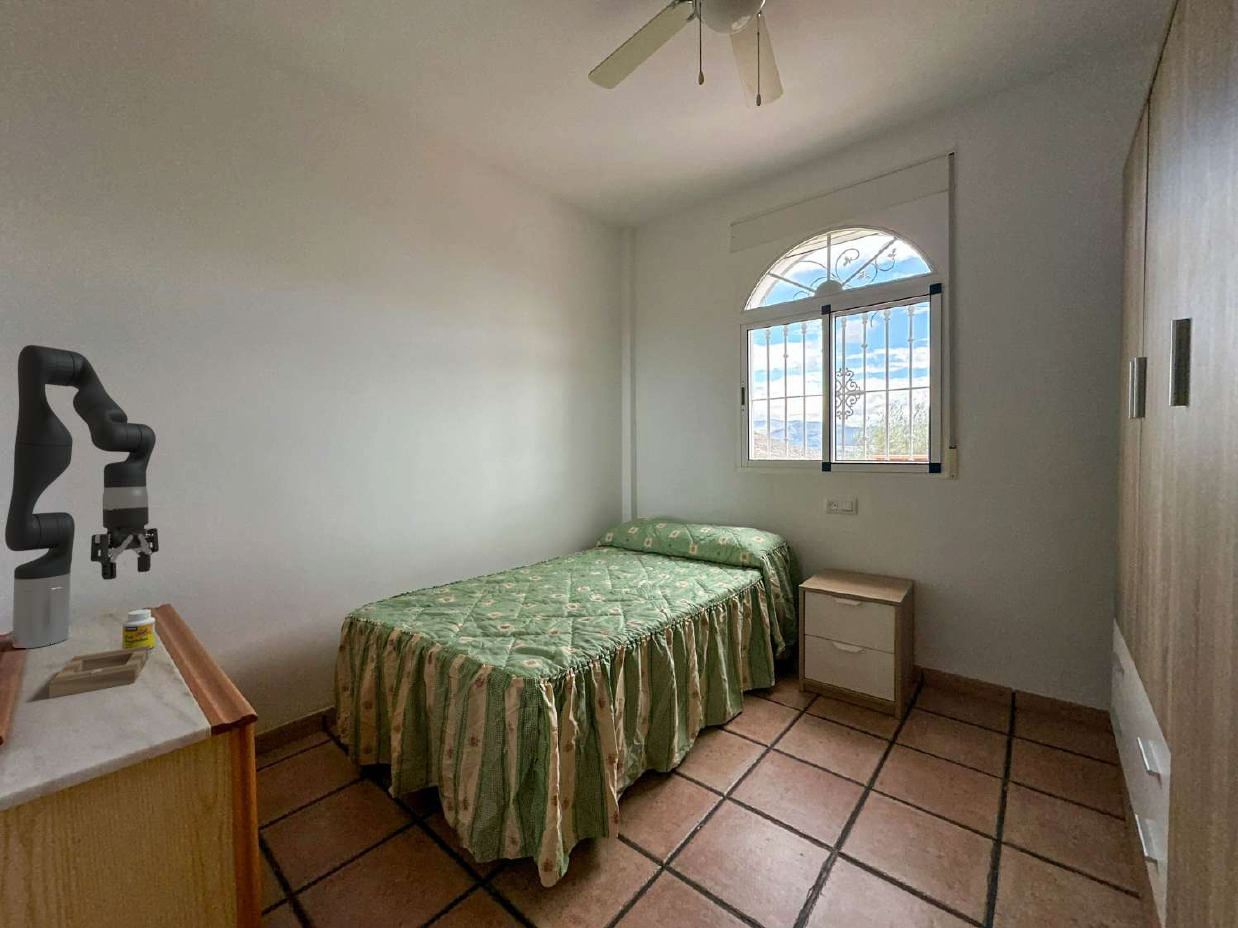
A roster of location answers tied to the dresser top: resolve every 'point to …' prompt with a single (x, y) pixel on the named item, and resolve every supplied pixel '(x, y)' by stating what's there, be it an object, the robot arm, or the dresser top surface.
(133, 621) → the supplement bottle
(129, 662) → the holder block
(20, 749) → the dresser top surface
